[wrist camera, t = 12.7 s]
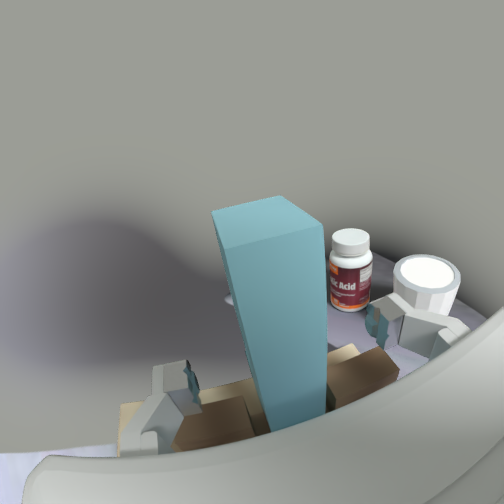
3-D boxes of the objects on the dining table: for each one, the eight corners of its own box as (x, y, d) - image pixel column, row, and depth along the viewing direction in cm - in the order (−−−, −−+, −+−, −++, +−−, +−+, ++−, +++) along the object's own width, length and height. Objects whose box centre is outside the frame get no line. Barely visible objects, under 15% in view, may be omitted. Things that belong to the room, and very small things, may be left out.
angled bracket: (294, 496, 12) (247, 312, 5) (256, 390, 21) (205, 196, 14) (338, 480, 13) (382, 268, 6) (291, 379, 21) (261, 183, 14)
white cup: (456, 328, 23) (472, 272, 20) (417, 362, 21) (434, 303, 18) (414, 299, 29) (422, 246, 26) (373, 325, 27) (379, 268, 24)
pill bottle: (322, 303, 32) (318, 239, 28) (345, 284, 34) (344, 223, 31) (355, 319, 29) (357, 250, 25) (376, 297, 31) (380, 232, 27)
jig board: (135, 576, 6) (75, 569, 3) (128, 412, 21) (93, 368, 19) (447, 494, 9) (492, 462, 6) (351, 353, 24) (355, 300, 21)
